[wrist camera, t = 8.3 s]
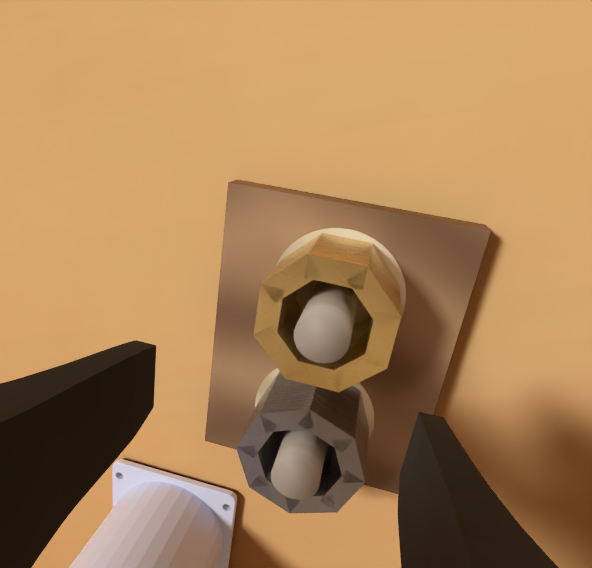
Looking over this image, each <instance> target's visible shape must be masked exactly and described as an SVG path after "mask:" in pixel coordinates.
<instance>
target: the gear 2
mask: <svg viewBox="0 0 592 568" xmlns="http://www.w3.org/2000/svg"><path fill="white" fill-rule="evenodd" d="M300 429H307V430H308V431H310V432H311V433H313V434H314V435H316V436H317V437H319V438H320V439H322V440H323V441H325V442H327V443H328V445H327V450H326V455H325V460H324V464H323V469H322V474H321V479H320V484H319V488H318V490H317V492H316V493H315V494H314V495H313V496H312V497H310V498H307V499H302V500H297V499H291V498H288V497H286V496H284V495H282V494H281V493H280V492H279V491H278V490H277V489H276V488H275V487H274V485H273V483H272V481H271V471H272V468H273V465H274V462H275V460H276V457H277V454H278V451H279V448H280V446H281V443H282V440H283V437H284V434H285V432H286V431H287V430H300ZM368 439H369V426H368V421H367V417H366V412H365V408H364V403H363V399H362V395H361V391H360V390H359V389H357V388H356V387H354V386H351V387H349V388H347V389H345V390H343V391H341V392H335V391H332V390H328V389H324V388H320V387H316V386H312V385H309V384H305V383H301V382H297V381H293V380H289V379H286V378H285V377H284V376H283V375H282V373H281V372H280V371H279V373H278V374H277V376H276V377H275V379H274V380H273V381H272V383H271V384H270V386H269V387H268V389H267V390H266V391H265V393H264V394H263V396H262V397H261V398H260V400H259V402H258V404H257V406H256V408H255V410H254V412H253V414H252V416H251V418H250V420H249V422H248V424H247V426H246V428H245V430H244V432H243V434H242V436H241V438H240V440H239V442H238V444H237V446H236V448H237V451H238V454H239V458H240V461H241V464H242V467H243V470H244V473H245V476H246V479H247V482H248V485H249V487H250V488H251V489H253V490H255V491H256V492H258V493H259V494H261V495H262V496H264V497H265V498H267V499H268V500H270V501H272V502H273V503H275V504H276V505H278V506H279V507H281V508H282V509H284V510H285V511H287V512H289V513H325V512H338V511H339V509H340V508H341V507H342V506H343V505H344V504H345V503H346V502H347V501H348V500H349V499H350V498H351V497H352V496H353V495H354V494H355V492H356V491H357V490H358V489H359V488H360V487H361V486H362V485H363V484H364V483H365V477H366V464H367V451H368Z"/></svg>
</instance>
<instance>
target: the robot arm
mask: <svg viewBox="0 0 592 568" xmlns="http://www.w3.org/2000/svg"><path fill="white" fill-rule="evenodd" d="M155 359H156V345H152V344H148V343H144V342H140V341H132V342H128V343H125V344H122V345H119V346H116V347H113V348H110V349H107V350H104V351H101V352H99V353H96V354H93V355H90V356H87V357H84V358H81V359H79V360H76V361H73V362H70V363H67V364H64V365H61V366H58V367H55V368H52V369H49V370H45V371H42V372H39V373H36V374H33V375H29V376H26V377H23V378H20V379H16V380H13V381H9V382H5V383H1V384H0V568H31V567H32V566H33V564H34V563H35V561H36V560H37V558H38V557H39V555H40V554H41V552H42V551H43V550H44V548H45V547H46V545H47V544H48V543H49V541H50V540H51V538H52V537H53V535H54V534H55V533H56V531H57V530H58V528H59V527H60V526H61V524H62V523H63V521H64V520H65V519H66V518H67V516H68V515H69V514H70V512H71V511H72V510H73V509H74V507H75V506H76V505H77V504H78V503H79V501H80V500H81V499H82V498H83V497H84V496H85V494H86V493H87V492H88V491H89V490H90V489H91V487H92V486H93V485H94V484H95V483H96V482H97V480H98V479H99V478H100V477H101V476H102V475H103V473H104V472H105V471H106V470H107V469H108V468H109V466H110V465H111V464H112V463H113V462H114V461H115V459H116V458H117V457H118V456H119V455H120V453H121V452H122V451H123V450H124V449H125V448H126V446H127V445H128V444H129V443H130V442H131V440H132V439H133V438H134V436H135V435H136V433H137V432H138V430H139V429H140V427H141V426H142V424H143V423H144V421H145V420H146V418H147V417H148V415H149V413H150V412H151V410H152V408H153V405H154V382H155ZM226 504H227V505H226ZM228 505H229V506H228ZM236 506H237V495H236V494H235V493H234V492H233V491H230V490H227V489H224V488H220V487H217V486H213V485H210V484H206V483H203V482H200V481H196V480H193V479H189V478H186V477H182V476H179V475H175V474H172V473H169V472H165V471H162V470H158V469H155V468H151V467H148V466H144V465H141V464H138V463H134V462H131V461H127V460H124V459H118V460H117V461H116V462H115V463H114V464H113V509H112V510H111V512H110V513H109V514H108V516H107V517H106V518H105V520H104V521H103V522H102V524H101V525H100V526H99V528H98V529H97V530H96V532H95V533H94V534H93V536H92V537H91V538H90V540H89V541H88V543H87V544H86V545H85V547H84V548H83V549H82V551H81V552H80V553H79V555H78V556H77V557H76V559H75V560H74V561H73V563H72V564H71V565H70V567H69V568H228V567H229V560H230V552H231V544H232V537H233V529H234V521H235V514H236ZM398 524H399V539H400V553H401V567H402V568H558V567H557V566H556V565H555V564H554V562H553V561H552V560H551V559H550V558H549V557H548V556H547V555H546V554H545V553H544V552H543V551H542V549H541V548H540V547H539V546H538V545H537V544H536V543H535V542H534V541H533V539H532V538H531V537H530V536H529V535H528V534H527V533H526V532H525V530H524V529H523V528H522V527H521V526H520V525H519V523H518V522H517V521H516V520H515V519H514V517H513V516H512V515H511V514H510V512H509V511H508V510H507V508H506V507H505V506H504V505H503V503H502V502H501V501H500V500H499V498H498V497H497V496H496V494H495V493H494V492H493V490H492V489H491V488H490V486H489V485H488V484H487V482H486V481H485V479H484V478H483V477H482V475H481V474H480V472H479V471H478V470H477V468H476V467H475V465H474V464H473V462H472V461H471V459H470V458H469V456H468V455H467V453H466V452H465V450H464V449H463V447H462V446H461V444H460V443H459V441H458V439H457V438H456V436H455V435H454V433H453V432H452V430H451V429H450V427H449V425H448V424H447V422H446V421H445V419H444V418H443V417H439V416H435V415H431V414H427V413H423V412H419V413H418V416H417V419H416V423H415V426H414V429H413V432H412V436H411V439H410V442H409V445H408V449H407V452H406V455H405V459H404V462H403V465H402V468H401V472H400V478H399V496H398Z"/></svg>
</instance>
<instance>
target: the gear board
mask: <svg viewBox="0 0 592 568" xmlns="http://www.w3.org/2000/svg"><path fill="white" fill-rule="evenodd" d="M321 233H327V234H331V235H336V236H341V237H346V238H350V239H355V240H360V241H365V242H369V243H373V245H374V246H375V248H376V249H377V251H378V252H379V254H380V255H381V257H382V258H383V260H384V261H385V263H386V264H387V266H388V267H389V269H390V270H391V272H392V273H393V275H394V277H395V278H396V280H397V281H398V283H399V284H400V298H401V320H400V324H399V327H398V331H397V335H396V338H395V342H394V345H393V349H392V353H391V356H390V360H389V364H388V367H387V369H385V370H383V371H381V372H379V373H377V374H375V375H373V376H371V377H369V378H367V379H365V380H363V381H361V382H359V383H357V384H355V385H353V386H354V387H356V388H357V389H359V390H360V391H361V395H362V399H363V403H364V408H365V412H366V417H367V421H368V426H369V439H368V451H367V464H366V477H365V483H364V485H367V486H371V487H375V488H378V489H382V490H386V491H389V492H393V493H396V494H399V478H400V472H401V468H402V465H403V462H404V459H405V455H406V452H407V449H408V445H409V442H410V439H411V436H412V432H413V429H414V426H415V423H416V419H417V416H418V413H419V412H423V413H427V414H431V415H433V414H434V411H435V408H436V404H437V401H438V398H439V395H440V392H441V389H442V385H443V382H444V379H445V376H446V373H447V370H448V366H449V363H450V360H451V357H452V354H453V350H454V347H455V344H456V341H457V338H458V335H459V331H460V328H461V325H462V322H463V319H464V316H465V312H466V309H467V306H468V303H469V300H470V296H471V293H472V290H473V287H474V284H475V281H476V277H477V274H478V271H479V268H480V265H481V262H482V258H483V255H484V252H485V249H486V246H487V242H488V239H489V236H490V233H491V230H490V229H489V228H488V227H487V226H486V225H483V224H478V223H472V222H467V221H461V220H456V219H450V218H445V217H439V216H434V215H428V214H423V213H417V212H412V211H406V210H401V209H396V208H390V207H385V206H379V205H374V204H368V203H363V202H357V201H352V200H346V199H341V198H335V197H330V196H324V195H319V194H313V193H308V192H302V191H297V190H291V189H286V188H280V187H275V186H269V185H264V184H258V183H253V182H247V181H242V180H235V181H231V182H228V192H227V203H226V214H225V225H224V236H223V247H222V258H221V269H220V280H219V291H218V303H217V314H216V325H215V336H214V347H213V358H212V369H211V380H210V391H209V402H208V413H207V424H206V435H205V441H208V442H211V443H215V444H219V445H222V446H226V447H230V448H233V449H237V448H236V446H237V444H238V442H239V440H240V438H241V436H242V434H243V432H244V430H245V428H246V426H247V424H248V422H249V420H250V418H251V416H252V414H253V412H254V410H255V408H256V406H257V404H258V402H259V400H260V398H261V397H262V396H263V394H264V393H265V391H266V390H267V389H268V387H269V386H270V384H271V383H272V381H273V380H274V379H275V377H276V376H277V374H278V373H279V369H278V368H277V367H276V365H275V364H274V362H273V361H272V360H271V358H270V357H269V356H268V354H267V353H266V352H265V350H264V349H263V348H262V346H261V345H260V344H259V342H258V341H257V340H256V338H255V337H254V335H253V334H254V327H255V320H256V313H257V306H258V299H259V292H260V285H261V283H262V282H263V281H264V280H265V278H266V277H267V276H268V275H269V274H270V273H271V272H272V270H273V269H274V268H275V267H276V266H277V265H278V264H279V262H280V261H281V260H282V259H283V258H285V257H286V256H288V255H289V254H291V253H292V252H294V251H295V250H297V249H298V248H300V247H301V246H303V245H304V244H306V243H307V242H309V241H311V240H312V239H314V238H315V237H317V236H318V235H320V234H321ZM296 300H297V302H298V303H299V305H300V306H301V308H302V309H303V312H302V314H301V316H300V318H299V320H298V322H297V324H296V327H295V329H294V342H295V345H296V347H297V349H298V350H299V352H300V353H301V354H302V355H303V356H304V357H306V358H307V359H309V360H311V361H313V362H317V363H332V362H335V361H337V360H339V359H340V358H342V357H343V356H344V355H345V354H346V352H347V350H348V348H349V345H350V340H351V335H352V331H353V326H354V325H356V324H358V323H360V322H362V321H363V320H365V319H367V318H369V317H370V314H369V312H368V311H367V309H366V308H365V306H364V305H363V303H362V302H361V301H360V299H359V298H358V296H357V295H356V293H355V292H354V290H353V289H352V288H348V287H344V286H339V285H335V284H331V283H326V282H322V281H317V280H312V281H311V282H309V283H307V284H306V285H304V286H302V287H301V288H299V289H298V291H297V297H296ZM327 445H328V443H327V442H325V441H323V440H322V439H320V438H319V437H317V436H316V435H314V434H313V433H311V432H310V431H308V430H307V429H300V430H287V431H286V432H285V434H284V437H283V440H282V443H281V446H280V448H279V451H278V454H277V457H276V460H275V462H274V465H273V468H272V471H271V481H272V483H273V485H274V487H275V488H276V489H277V490H278V491H279V492H280V493H281V494H282V495H284V496H286V497H288V498H291V499H297V500H302V499H307V498H310V497H312V496H313V495H314V494H315V493H316V492H317V490H318V488H319V484H320V479H321V474H322V469H323V464H324V460H325V455H326V450H327Z"/></svg>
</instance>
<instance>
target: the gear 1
mask: <svg viewBox="0 0 592 568" xmlns="http://www.w3.org/2000/svg"><path fill="white" fill-rule="evenodd" d="M312 280H317V281H322V282H326V283H331V284H335V285H339V286H344V287H348V288H352V289H353V290H354V292H355V293H356V295H357V296H358V298H359V299H360V301H361V302H362V303H363V305H364V306H365V308H366V309H367V311H368V312H369V314H370V317H369V318H367V319H365V320H363V321H362V322H360V323H358V324H356V325H354V326H353V331H352V335H351V340H350V345H349V348H348V350H347V352H346V354H345V355H344V356H343V357H342V358H340V359H339V360H337V361H335V362H332V363H317V362H313V361H311V360H309V359H307V358H306V357H304V356H303V355H302V354H301V353H300V352H299V350H298V349H297V347H296V345H295V342H294V329H295V327H296V324H297V322H298V320H299V318H300V316H301V314H302V312H303V309H302V308H301V306H300V305H299V303H298V302H297V300H296V297H297V291H298V289H299V288H301V287H302V286H304V285H306V284H307V283H309V282H311V281H312ZM400 320H401V298H400V284H399V283H398V281H397V280H396V278H395V277H394V275H393V273H392V272H391V270H390V269H389V267H388V266H387V264H386V263H385V261H384V260H383V258H382V257H381V255H380V254H379V252H378V251H377V249H376V248H375V246H374V245H373V243H369V242H365V241H360V240H355V239H350V238H346V237H341V236H336V235H331V234H327V233H321V234H320V235H318V236H317V237H315V238H314V239H312V240H311V241H309V242H307V243H306V244H304V245H303V246H301V247H300V248H298V249H297V250H295V251H294V252H292V253H291V254H289V255H288V256H286V257H285V258H283V259H282V260H281V261H280V262H279V264H278V265H277V266H276V267H275V268H274V269H273V270H272V272H271V273H270V274H269V275H268V276H267V277H266V278H265V280H264V281H263V282H262V283H261V285H260V292H259V299H258V306H257V313H256V320H255V327H254V334H253V335H254V337H255V338H256V340H257V341H258V342H259V344H260V345H261V346H262V348H263V349H264V350H265V352H266V353H267V354H268V356H269V357H270V358H271V360H272V361H273V362H274V364H275V365H276V367H277V368H278V369H279V371H280V372H281V373H282V375H283V376H284V377H285V378H286V379H289V380H293V381H297V382H301V383H305V384H309V385H312V386H316V387H320V388H324V389H328V390H332V391H335V392H341V391H343V390H345V389H347V388H349V387H351V386H353V385H355V384H357V383H359V382H361V381H363V380H365V379H367V378H369V377H371V376H373V375H375V374H377V373H379V372H381V371H383V370H385V369H387V367H388V364H389V360H390V356H391V353H392V349H393V345H394V342H395V338H396V335H397V331H398V327H399V324H400Z"/></svg>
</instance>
